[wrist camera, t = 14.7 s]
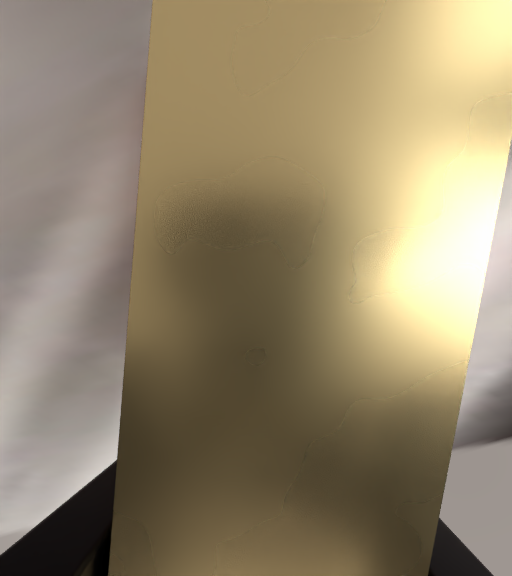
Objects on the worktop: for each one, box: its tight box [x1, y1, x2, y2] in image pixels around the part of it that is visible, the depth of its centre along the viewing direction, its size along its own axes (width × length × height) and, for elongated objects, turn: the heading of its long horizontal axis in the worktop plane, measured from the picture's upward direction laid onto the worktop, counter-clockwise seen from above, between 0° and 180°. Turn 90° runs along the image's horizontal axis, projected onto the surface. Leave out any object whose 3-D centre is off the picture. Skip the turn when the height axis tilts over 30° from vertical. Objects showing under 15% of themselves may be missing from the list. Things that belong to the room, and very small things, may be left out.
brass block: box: [108, 0, 512, 576], centre depth 7 cm, size 12×4×4 cm, turn 174°
